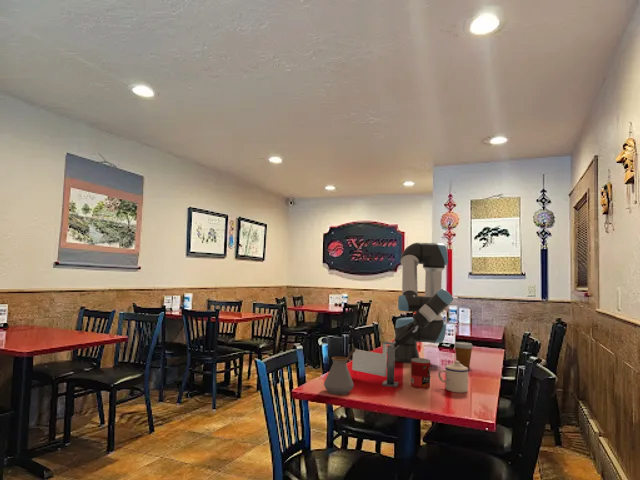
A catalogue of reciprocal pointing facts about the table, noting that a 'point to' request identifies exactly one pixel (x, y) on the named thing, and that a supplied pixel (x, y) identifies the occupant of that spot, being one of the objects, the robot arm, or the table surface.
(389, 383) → the post
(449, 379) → the teacup with lid
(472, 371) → the table surface
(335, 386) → the coffee pot
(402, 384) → the table surface
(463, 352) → the disposable coffee cup
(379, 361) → the swing panel
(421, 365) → the canned food
